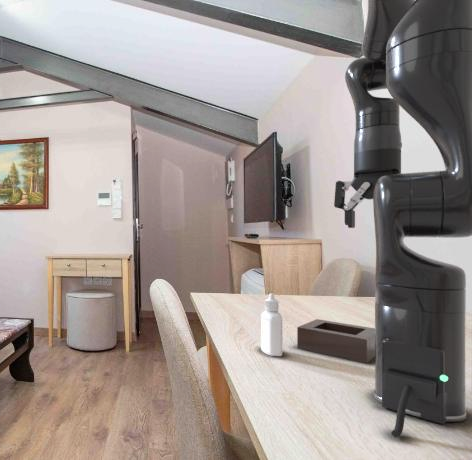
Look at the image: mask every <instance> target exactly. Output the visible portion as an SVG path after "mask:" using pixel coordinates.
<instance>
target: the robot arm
mask: <svg viewBox="0 0 472 460" xmlns="http://www.w3.org/2000/svg"><path fill="white" fill-rule="evenodd" d="M361 54H362V55H363V57H359V58H356V59H354V60H353V61H352V62H350V63H349V65H348V66H347V68H346V70H345V74H344V80H345V85H346V88H347V90H348V92H349V95H350V98H351V100H352V104H353V107H354V112H355V113H354V114H355V135H354V141H353V178H352V180H350V181H342V180H337V181H336V182H335V189H334V201H333V202H334V203H333V206H334V207H335V208H336V209H341V210H343V211H344V224H345V226H347V228H348V229H355V227H356V211H355V209H356V207H357V206H358V205H360V204H361V203H362V202H363V201H364V200H365V199H366V200H372V206H373V208H372V209H373V222H374V235H375V237H374V238H375V273H374V274H375V276H374V277H375V278H374V285H375V286H374V292H375V293H374V297H375V299H374V301H375V302H374V328H375V357H374V391H373V397H374V399H375V400H376V401H378V402H379V403H380V404H381V407H382V408H384V409H388V410H391V411H395V412H396V416H395V417H396V418H395V425H394V429H393V430H391V436H393V437H394V438H399V437H400V436H401V435H402V433H403V431H404V426H405V419H406V418H405V417H406V415H410V416H413V417H417V418H421V419H423V420H426V421H431V422H434V423H438V424H442V425H444V424H445V423H447V422H449V423H451V422H452V423H453V422H454V423H455V422H462V421H466V419H467V409H466V310H467V309H466V307H467V305H466V304H467V303H466V301H467V300H466V298H467V295H466V287H467V277H466V272H465V270H464V269H463V268H462V267H460V266H457V265H455V264H453V263H452V264H451V263H448V262H444V261H440V260H437V259H434V258H430V257H427V256H425V255H423V254H420V253H418V252H417V251H414V250H413V249H411V248H410V247H408V246H407V245H406V244H405V242H404V238H443V239H445V238H448V239H452V238H453V239H455V238H460V239H461V238H469V237H471V236H472V0H367V17H366V22H365V28H364V33H363V37H362V41H361ZM386 89H387V91H388V93H389V95H390V96H391V97H380V96H374V95H372V94H371V93H370V92H372V91H373V92H374V91H380V90H386ZM400 108H401V109H402V110H404V111H405V112H406V113H407V114H408V115H409V116H410V117H411V118H412V119H413V120H414V121H416V122H417V123H418V125H419V126H420V127H421V128H423V129H424V131H425V132H426V133H427V134H428V136H429V137H430V138H431V140H432V141H433V143H434V145H435V146H436V147H437V149H438V152H439V154H440V156H441V158H442V162H443V165H444V170H432V171H418V172H403V173H402V147H403V143H402V134H401V133H402V132H401V129H400ZM351 187H352V189H353V190H355V191H356V192H354V194H353V195H352V196H351V197H350V199H349V200H348V201H347V202H345V201H346V192H348V191H349V190H350V188H351Z"/></svg>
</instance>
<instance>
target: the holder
mask: <svg viewBox="0 0 472 460" xmlns="http://www.w3.org/2000/svg"><path fill="white" fill-rule="evenodd" d="M296 332H297V333H296V335H297V336H296V339H297V340H296V341H297V342H296V343H297V344H296V345H297V346H296V347H297V349H299V350H304V351H309V352H313V353H316V354H322V355H326V356H331V357H335V358H341V359H345V360H348V361H349V360H350V361H353V362H358V363H363V364H368V363H369V362H371V361H372V360H373V359H375V327H369V326H363V325H356V324H351V323H344V322H339V321H338V322H337V321H332V320H324V319H319V318H316V319H313V320H311V321H309V322H307V323H304V324H302V325H299V326H297V331H296Z"/></svg>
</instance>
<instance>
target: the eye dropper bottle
mask: <svg viewBox="0 0 472 460" xmlns="http://www.w3.org/2000/svg"><path fill="white" fill-rule="evenodd" d="M260 350H261V352H262V353H264V354H266V355H268V356H272V357H282V356H283V316H282V315H281V312H279V301H278V299H276V298H275V295H274V293H269V295H268V298H266V299H264V311H261V314H260Z"/></svg>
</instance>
